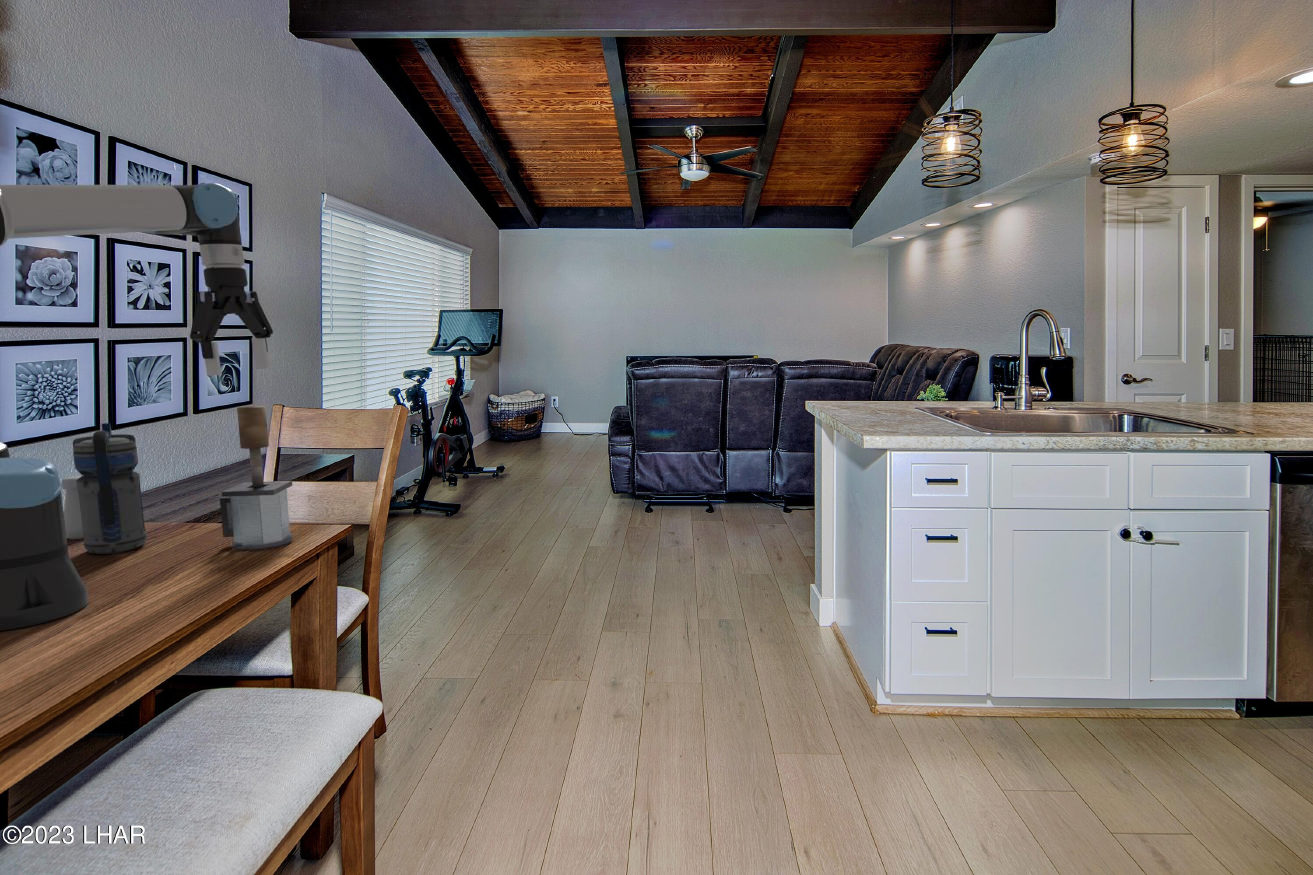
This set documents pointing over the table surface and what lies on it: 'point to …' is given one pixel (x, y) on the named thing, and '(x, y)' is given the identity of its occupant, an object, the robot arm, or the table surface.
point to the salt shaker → (72, 509)
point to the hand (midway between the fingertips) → (239, 372)
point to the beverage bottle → (109, 492)
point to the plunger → (253, 438)
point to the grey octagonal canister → (256, 515)
